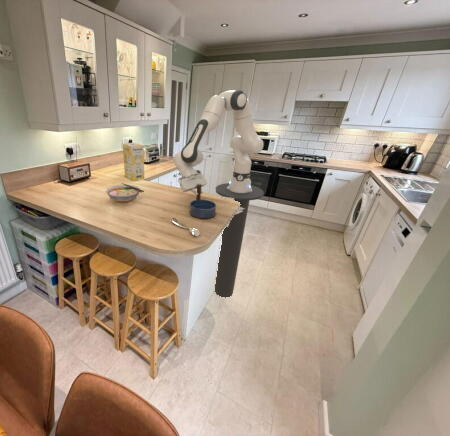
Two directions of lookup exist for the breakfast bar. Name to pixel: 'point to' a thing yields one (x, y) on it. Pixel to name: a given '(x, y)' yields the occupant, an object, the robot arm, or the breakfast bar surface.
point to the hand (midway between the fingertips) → (199, 194)
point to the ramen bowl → (123, 192)
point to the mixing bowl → (202, 208)
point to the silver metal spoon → (192, 230)
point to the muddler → (198, 192)
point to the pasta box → (133, 161)
